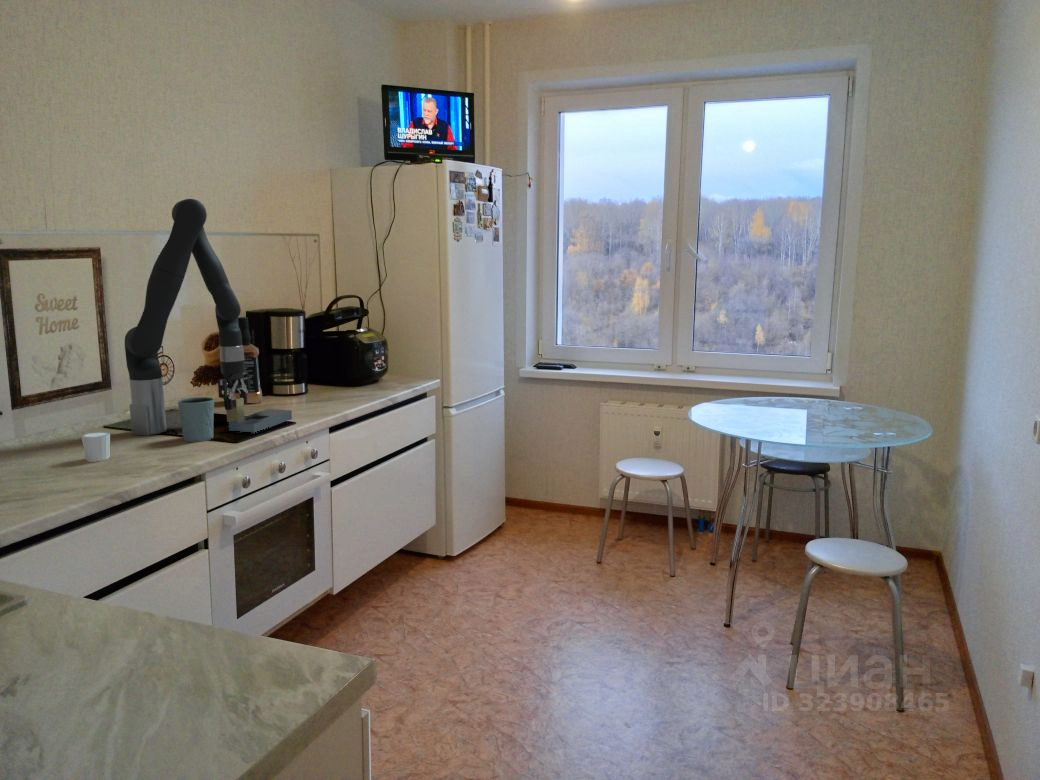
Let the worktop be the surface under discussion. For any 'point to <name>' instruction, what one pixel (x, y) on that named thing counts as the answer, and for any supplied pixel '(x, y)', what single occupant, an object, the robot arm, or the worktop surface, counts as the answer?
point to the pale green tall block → (236, 409)
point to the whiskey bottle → (250, 364)
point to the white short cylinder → (96, 446)
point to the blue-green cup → (197, 418)
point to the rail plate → (260, 420)
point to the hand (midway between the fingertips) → (236, 407)
